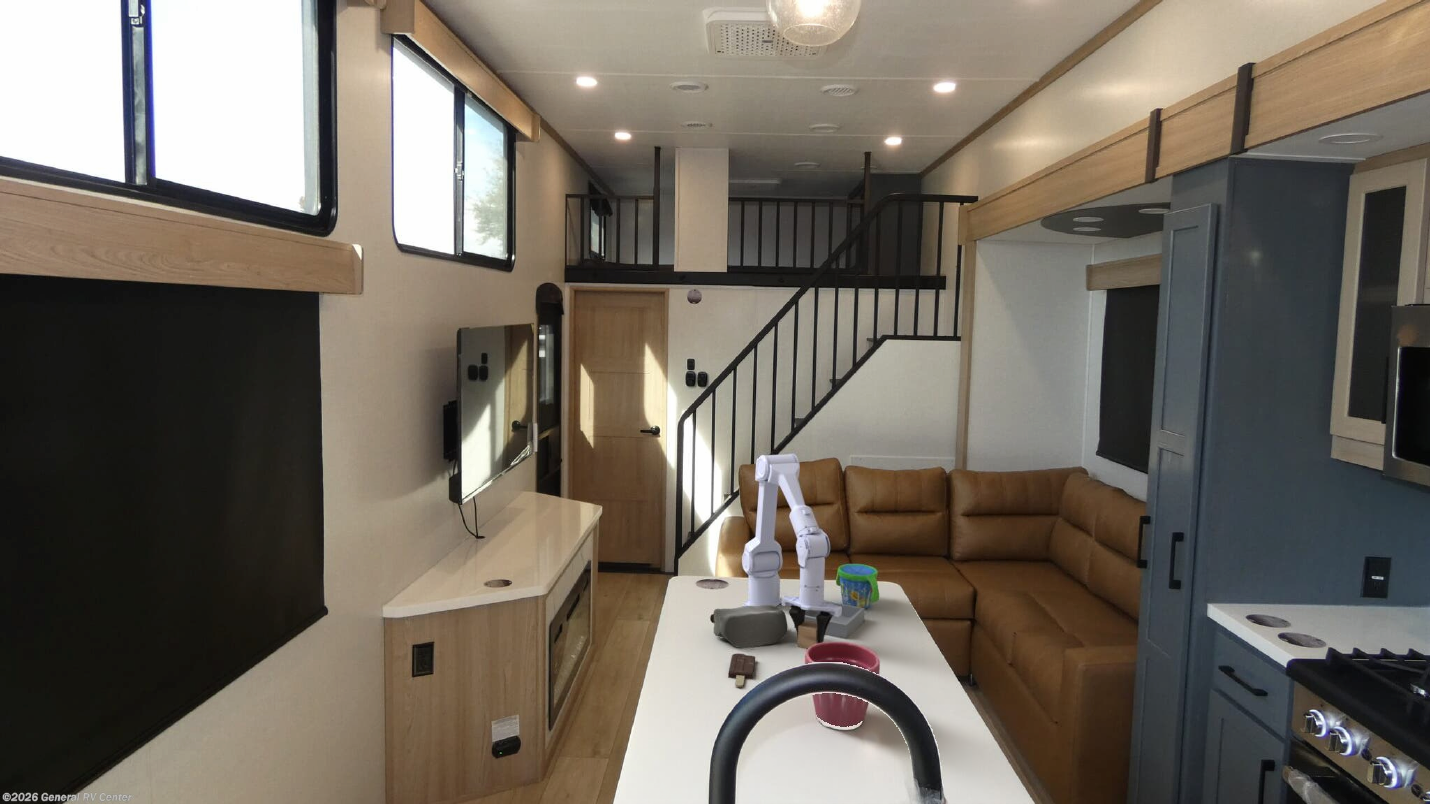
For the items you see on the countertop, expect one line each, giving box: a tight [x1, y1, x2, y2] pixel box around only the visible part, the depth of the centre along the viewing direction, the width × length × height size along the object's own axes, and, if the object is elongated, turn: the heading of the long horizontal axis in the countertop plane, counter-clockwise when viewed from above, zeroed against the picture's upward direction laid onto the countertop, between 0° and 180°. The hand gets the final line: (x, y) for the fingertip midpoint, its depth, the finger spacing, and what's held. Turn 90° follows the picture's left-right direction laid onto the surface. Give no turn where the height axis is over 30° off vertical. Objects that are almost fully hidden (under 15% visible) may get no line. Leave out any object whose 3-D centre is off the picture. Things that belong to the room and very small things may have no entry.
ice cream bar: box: [727, 652, 756, 688], centre depth 173 cm, size 5×2×15 cm
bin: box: [794, 599, 866, 640], centre depth 201 cm, size 14×14×4 cm
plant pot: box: [804, 641, 881, 727], centre depth 152 cm, size 14×14×13 cm
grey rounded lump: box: [709, 605, 789, 649], centre depth 192 cm, size 18×11×8 cm, turn 106°
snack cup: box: [835, 563, 880, 610], centre depth 215 cm, size 16×10×10 cm
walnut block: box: [797, 621, 824, 649], centre depth 188 cm, size 4×4×5 cm
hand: (810, 639), depth 188 cm, fingers closed on walnut block, 4 cm apart
